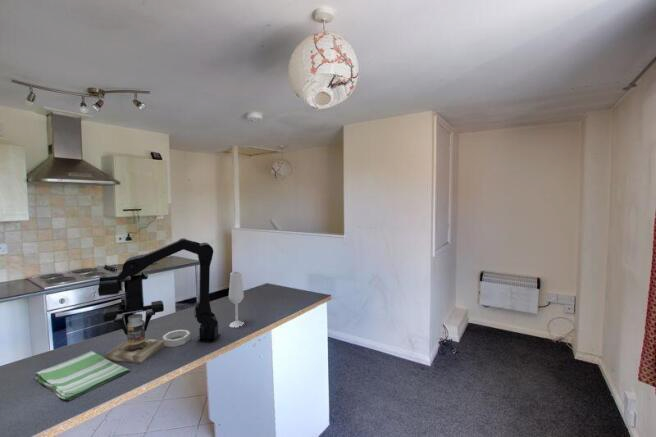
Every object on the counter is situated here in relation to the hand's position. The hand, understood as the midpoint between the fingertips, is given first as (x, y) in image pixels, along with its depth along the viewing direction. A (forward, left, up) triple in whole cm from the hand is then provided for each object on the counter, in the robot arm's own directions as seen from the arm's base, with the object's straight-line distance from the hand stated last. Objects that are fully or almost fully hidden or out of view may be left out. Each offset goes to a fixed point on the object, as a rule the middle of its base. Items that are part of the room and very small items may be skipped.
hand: (136, 332), depth 115 cm
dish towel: (+7, +16, -9) cm, 19 cm away
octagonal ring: (-9, -11, -8) cm, 16 cm away
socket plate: (0, 0, -8) cm, 8 cm away
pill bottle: (0, 0, -4) cm, 4 cm away
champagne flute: (-26, -30, -8) cm, 40 cm away
